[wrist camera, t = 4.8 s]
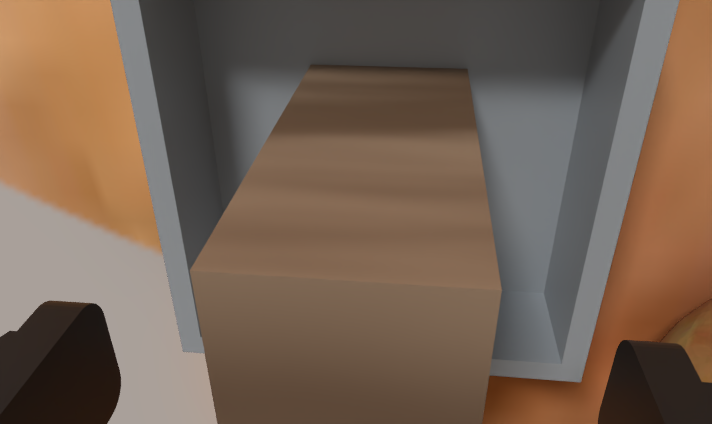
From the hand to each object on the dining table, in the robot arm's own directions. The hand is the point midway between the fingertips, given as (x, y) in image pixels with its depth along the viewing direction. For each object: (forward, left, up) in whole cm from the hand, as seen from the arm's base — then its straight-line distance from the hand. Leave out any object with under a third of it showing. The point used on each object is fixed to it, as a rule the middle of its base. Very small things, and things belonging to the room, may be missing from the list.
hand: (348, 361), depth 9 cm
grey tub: (0, 0, -9) cm, 9 cm away
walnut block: (0, 0, -8) cm, 8 cm away
